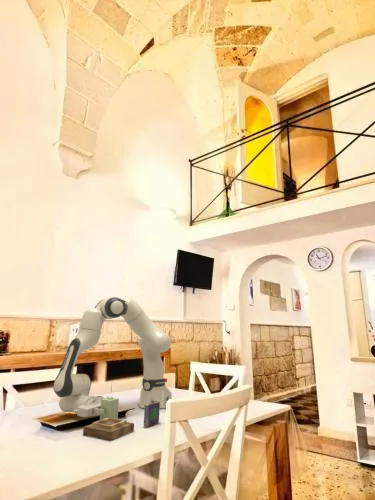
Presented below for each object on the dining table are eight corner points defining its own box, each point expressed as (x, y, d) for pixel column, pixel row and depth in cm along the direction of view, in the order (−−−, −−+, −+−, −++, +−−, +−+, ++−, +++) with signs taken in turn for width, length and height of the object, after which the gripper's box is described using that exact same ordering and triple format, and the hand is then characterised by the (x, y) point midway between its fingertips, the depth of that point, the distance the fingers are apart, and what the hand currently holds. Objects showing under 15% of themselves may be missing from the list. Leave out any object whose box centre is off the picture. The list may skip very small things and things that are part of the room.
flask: (146, 428, 137) (147, 400, 140) (141, 427, 139) (142, 399, 142) (160, 423, 145) (161, 397, 147) (155, 422, 146) (156, 396, 149)
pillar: (108, 421, 148) (109, 395, 151) (117, 422, 145) (118, 397, 148) (99, 423, 143) (101, 397, 146) (109, 425, 141) (110, 399, 143)
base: (107, 426, 140) (108, 415, 141) (133, 431, 133) (134, 420, 134) (82, 435, 128) (83, 423, 129) (110, 441, 121) (111, 428, 122)
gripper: (71, 403, 144) (94, 406, 137) (103, 395, 161) (125, 398, 155) (69, 418, 142) (93, 423, 136) (102, 409, 160) (125, 412, 153)
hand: (110, 409), depth 145 cm, fingers open, 7 cm apart
